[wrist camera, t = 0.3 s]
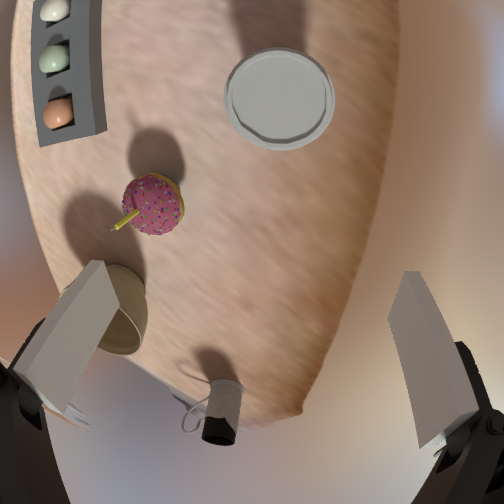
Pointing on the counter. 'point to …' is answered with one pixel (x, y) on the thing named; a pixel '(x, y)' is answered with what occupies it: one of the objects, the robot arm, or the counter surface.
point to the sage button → (55, 58)
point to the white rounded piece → (55, 10)
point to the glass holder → (220, 412)
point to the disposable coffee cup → (279, 98)
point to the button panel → (70, 71)
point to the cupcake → (152, 204)
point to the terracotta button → (58, 112)
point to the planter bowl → (125, 313)
